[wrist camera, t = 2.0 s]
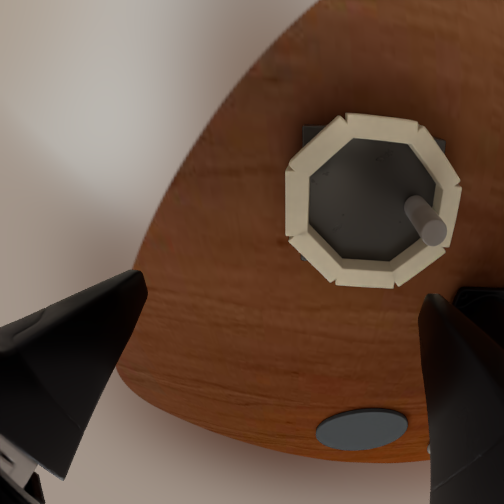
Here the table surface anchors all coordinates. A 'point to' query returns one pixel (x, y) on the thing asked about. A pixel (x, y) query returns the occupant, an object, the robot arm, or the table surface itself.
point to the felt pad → (362, 429)
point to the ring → (320, 153)
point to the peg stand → (373, 199)
